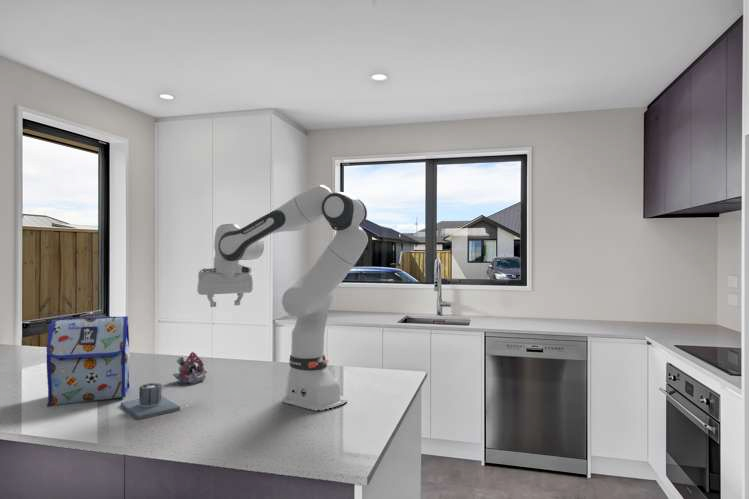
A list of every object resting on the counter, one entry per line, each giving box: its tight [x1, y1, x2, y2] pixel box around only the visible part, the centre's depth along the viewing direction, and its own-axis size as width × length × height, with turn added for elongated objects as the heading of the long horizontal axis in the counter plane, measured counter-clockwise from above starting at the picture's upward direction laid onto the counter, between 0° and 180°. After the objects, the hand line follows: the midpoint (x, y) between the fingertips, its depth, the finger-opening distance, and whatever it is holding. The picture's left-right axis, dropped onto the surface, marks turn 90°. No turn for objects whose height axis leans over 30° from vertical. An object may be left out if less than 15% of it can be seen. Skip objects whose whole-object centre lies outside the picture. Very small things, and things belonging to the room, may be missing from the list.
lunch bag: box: [46, 315, 130, 407], centre depth 150 cm, size 23×17×27 cm
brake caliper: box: [172, 351, 208, 385], centre depth 172 cm, size 11×11×12 cm
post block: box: [120, 386, 181, 420], centre depth 142 cm, size 16×12×6 cm
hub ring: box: [138, 382, 163, 405], centre depth 142 cm, size 6×6×5 cm
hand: (225, 306), depth 167 cm, fingers open, 8 cm apart
